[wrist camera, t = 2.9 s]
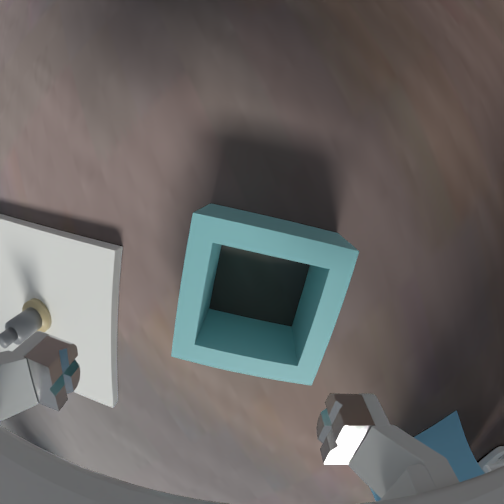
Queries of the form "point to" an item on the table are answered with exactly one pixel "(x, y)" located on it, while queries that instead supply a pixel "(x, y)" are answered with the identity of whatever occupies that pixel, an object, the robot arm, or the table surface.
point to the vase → (450, 447)
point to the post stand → (62, 298)
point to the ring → (252, 330)
